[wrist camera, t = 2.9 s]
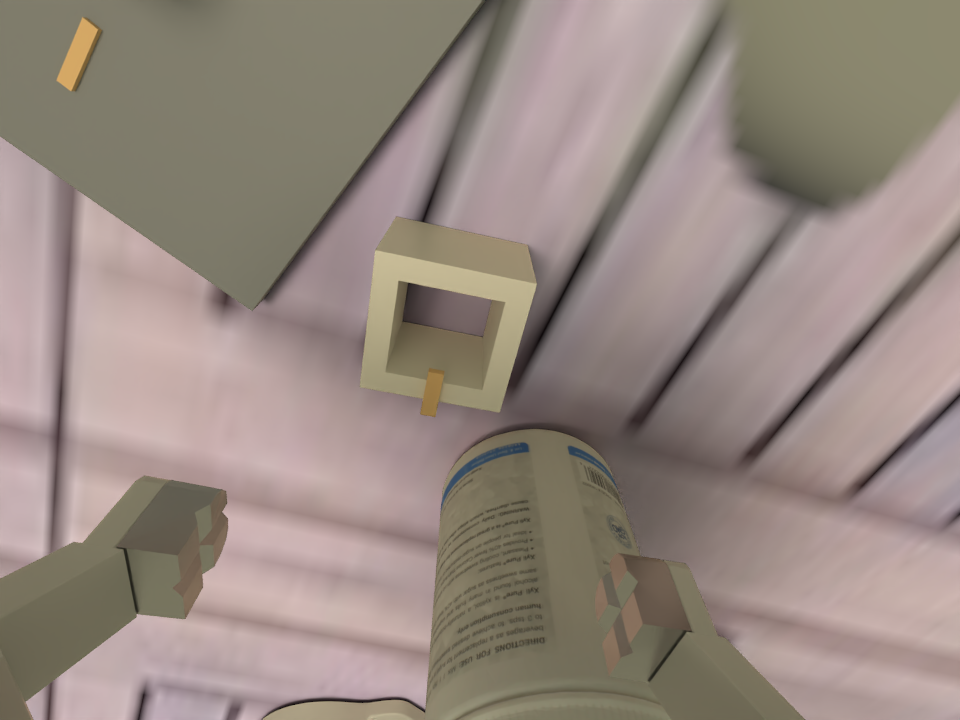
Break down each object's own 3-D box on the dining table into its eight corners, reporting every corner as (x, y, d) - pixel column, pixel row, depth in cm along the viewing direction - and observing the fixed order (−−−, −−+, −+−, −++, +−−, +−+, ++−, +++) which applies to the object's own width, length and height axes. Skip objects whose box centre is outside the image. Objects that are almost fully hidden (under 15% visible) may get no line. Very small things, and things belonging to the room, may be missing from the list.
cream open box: (527, 245, 21) (537, 287, 17) (494, 366, 24) (496, 428, 20) (396, 216, 21) (373, 253, 16) (379, 344, 24) (356, 403, 19)
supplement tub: (444, 542, 30) (414, 881, 18) (442, 417, 26) (402, 755, 13) (602, 547, 31) (686, 887, 18) (630, 422, 26) (772, 764, 13)
